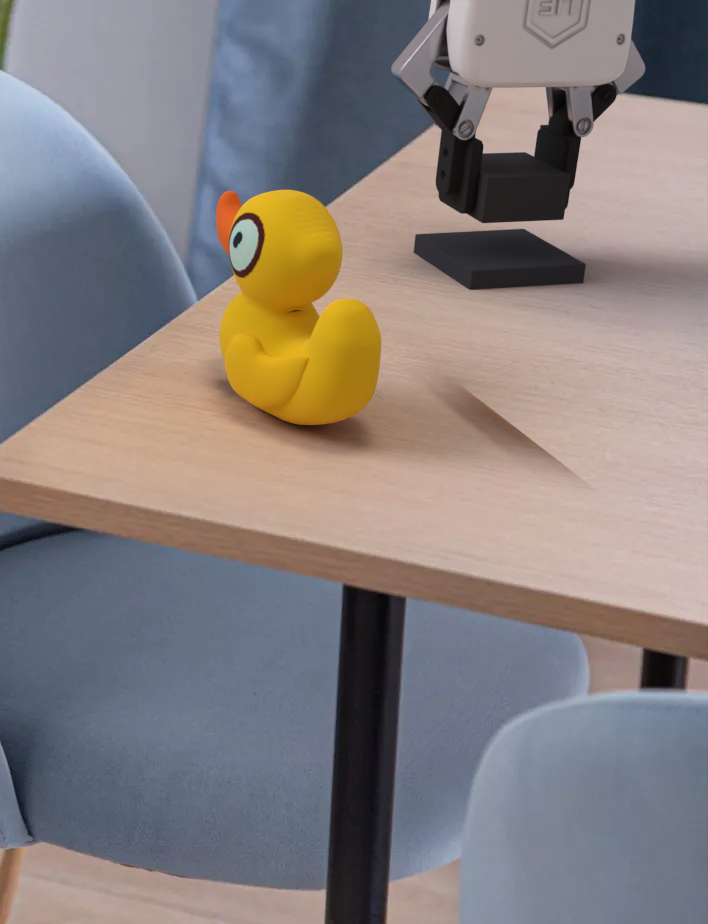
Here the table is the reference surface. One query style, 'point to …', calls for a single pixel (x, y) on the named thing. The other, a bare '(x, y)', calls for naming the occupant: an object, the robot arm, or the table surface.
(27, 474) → the table surface
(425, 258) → the base pad
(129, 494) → the table surface
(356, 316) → the duckling
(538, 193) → the top pad
